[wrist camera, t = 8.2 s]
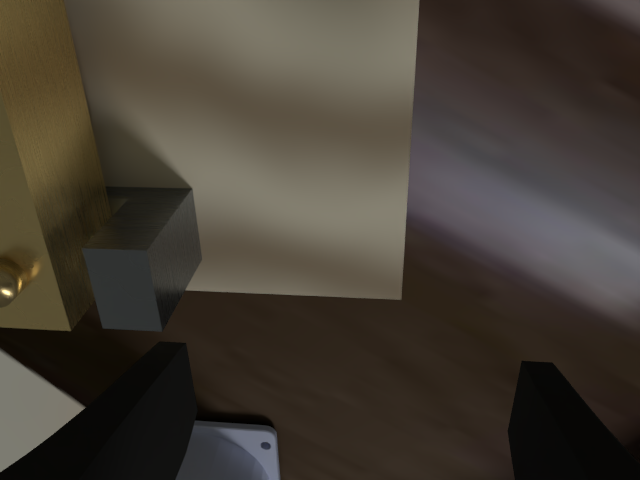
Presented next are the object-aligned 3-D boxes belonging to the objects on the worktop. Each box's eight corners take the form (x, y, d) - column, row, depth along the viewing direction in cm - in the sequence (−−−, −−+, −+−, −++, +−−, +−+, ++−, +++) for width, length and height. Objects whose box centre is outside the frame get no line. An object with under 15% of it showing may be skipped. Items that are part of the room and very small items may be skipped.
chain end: (205, 285, 23) (167, 360, 19) (6, 276, 24) (-70, 346, 20) (192, 188, 21) (146, 250, 17) (-26, 183, 21) (-118, 240, 18)
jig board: (400, 287, 23) (401, 299, 22) (3, 271, 24) (-9, 281, 24) (430, -218, 15) (432, -225, 14) (-156, -190, 17) (-180, -195, 16)
